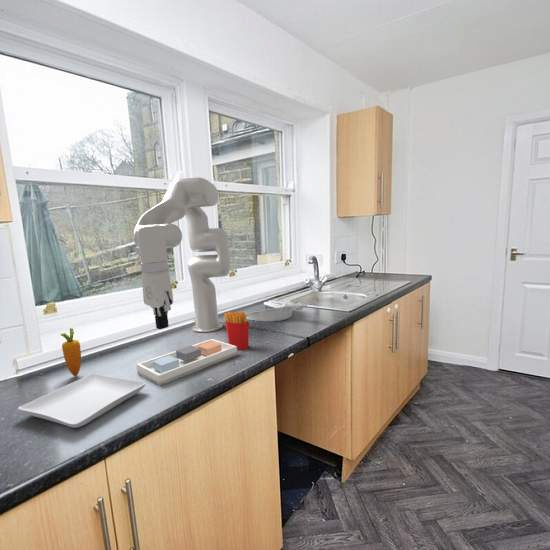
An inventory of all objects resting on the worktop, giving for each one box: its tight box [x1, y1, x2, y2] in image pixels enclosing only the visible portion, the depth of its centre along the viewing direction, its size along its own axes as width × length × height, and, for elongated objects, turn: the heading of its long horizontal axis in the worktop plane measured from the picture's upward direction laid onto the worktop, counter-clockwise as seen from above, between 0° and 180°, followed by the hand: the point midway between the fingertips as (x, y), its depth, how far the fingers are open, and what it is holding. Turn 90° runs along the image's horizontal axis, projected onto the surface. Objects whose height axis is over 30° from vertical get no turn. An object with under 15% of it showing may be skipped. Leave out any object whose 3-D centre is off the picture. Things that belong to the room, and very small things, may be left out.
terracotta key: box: [198, 341, 222, 356], centre depth 116 cm, size 6×6×2 cm
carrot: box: [60, 328, 82, 377], centre depth 106 cm, size 5×5×15 cm
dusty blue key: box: [153, 356, 179, 373], centre depth 105 cm, size 6×6×2 cm
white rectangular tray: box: [136, 338, 238, 387], centre depth 111 cm, size 14×28×3 cm, turn 136°
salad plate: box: [17, 373, 147, 429], centre depth 88 cm, size 21×21×3 cm
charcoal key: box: [175, 345, 201, 362], centre depth 111 cm, size 6×6×2 cm
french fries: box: [223, 311, 250, 351], centre depth 123 cm, size 9×4×13 cm, turn 61°
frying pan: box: [245, 301, 308, 323], centre depth 157 cm, size 23×33×10 cm
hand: (162, 327), depth 105 cm, fingers closed
